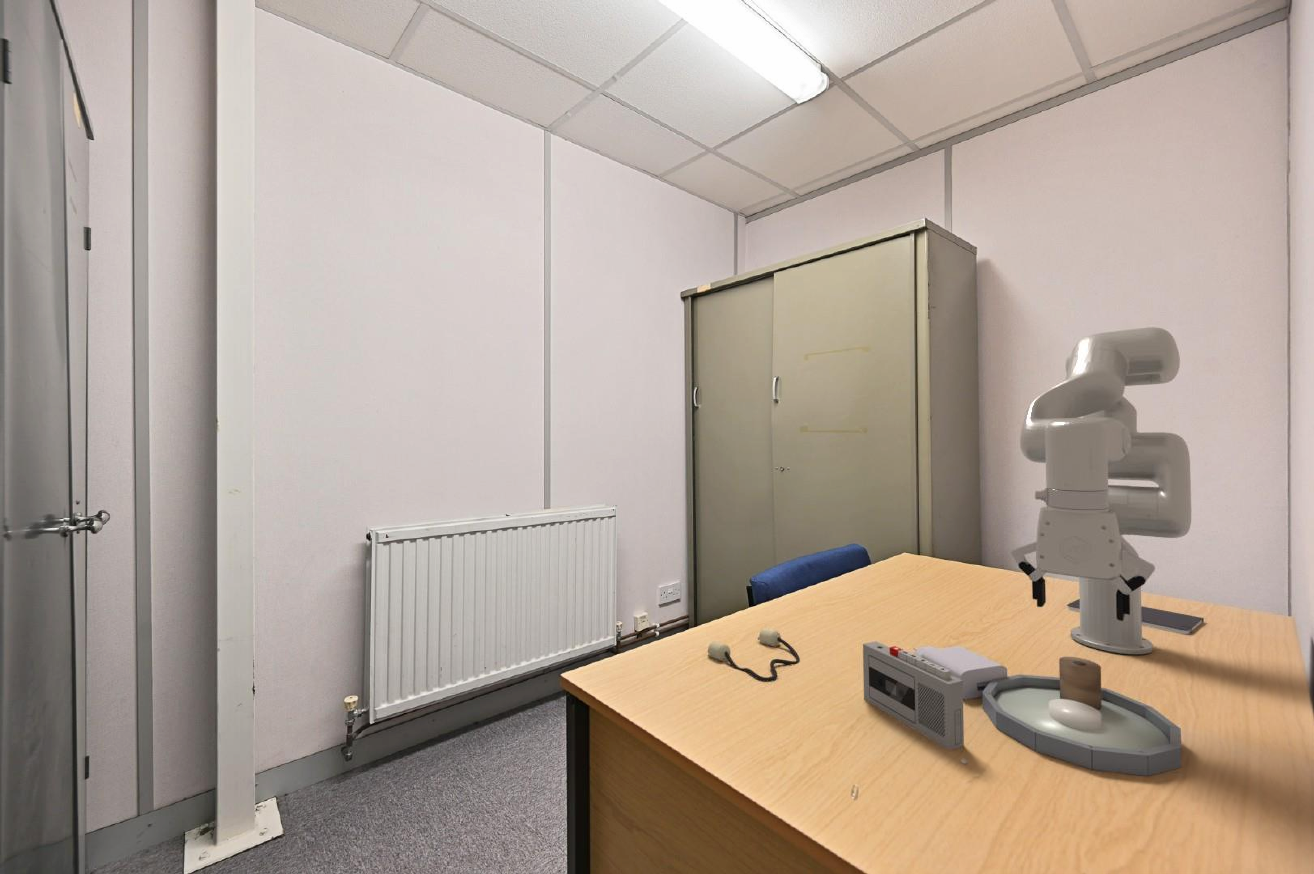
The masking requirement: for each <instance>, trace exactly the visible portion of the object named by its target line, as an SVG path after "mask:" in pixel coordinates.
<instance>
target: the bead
mask: <svg viewBox="0 0 1314 874" xmlns="http://www.w3.org/2000/svg"><path fill="white" fill-rule="evenodd" d="M1058 664H1059V665H1058V667H1059V668H1058V669H1059V671H1058V673H1059V678H1060V699H1067V700H1073V701H1077V702H1081V703H1084V704H1086V705H1089V706H1091V707H1093V708H1095V709H1096V710H1100V709H1101V687H1102V667H1101V665H1100V664H1098V663H1096V662H1095V661H1093V660H1090V659H1087V658H1081V657H1075V656H1062V657H1059V661H1058Z"/></svg>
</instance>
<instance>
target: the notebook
mask: <svg viewBox="0 0 1314 874" xmlns="http://www.w3.org/2000/svg"><path fill="white" fill-rule="evenodd" d="M1066 606H1067V608H1068V610H1069V611H1073V612H1078V613H1080V598H1077V599H1075V600H1074V601H1072V602H1069V603H1068V604H1066ZM1141 613H1142V627H1147V626H1149V627H1148V628H1152V627H1153V628H1152V629H1156V628H1157V629H1158V630H1162V631H1166V630H1168V631H1167V632H1171V631H1172V633H1175V632H1176V634H1179V635H1180V634H1181V635H1189V634H1192V633H1193V631H1194V630H1196V628H1197V627H1199V626H1200V625H1201V624H1202V622H1204V617H1201V616H1195V615H1189V614H1185V613H1179V612H1173V611H1167V610H1163V609H1158V608H1153V607H1147V606H1142V605H1141Z"/></svg>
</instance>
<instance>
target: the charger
mask: <svg viewBox="0 0 1314 874" xmlns="http://www.w3.org/2000/svg"><path fill="white" fill-rule="evenodd" d="M912 649H913V650H914V653H913V654H914V655H916V656H918V657H921V658H923V659H925V660H928V661H930V662H932V663H934V664H937V665H939V666H941V667H943V668H946V669H948V670H950V671H951V675H952V676H954V677H956V678H958V679H960V680H963V700H969V699H974V698H975V699H976V698H982V692H983V691H984V689H985V688H986V686H987V685H988V684H989V682H990V681H991V680H992V679H997V678H1003V677H1008V668H1007V667H1006V666H1004V665H1002V664H1000V663H998V662H996V661H994V660H991V659H990V658H987V657H984V656H983V655H980V654H978V653H977V652H975V651H972V650H970V649H968V648H965V647H963V646H960V645H954V646H949V647H948V646H947V647H941V648H937V647H935V646H933V645H928V646H921V647H919V648H917V647H915V646H914V647H913V648H912Z"/></svg>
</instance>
